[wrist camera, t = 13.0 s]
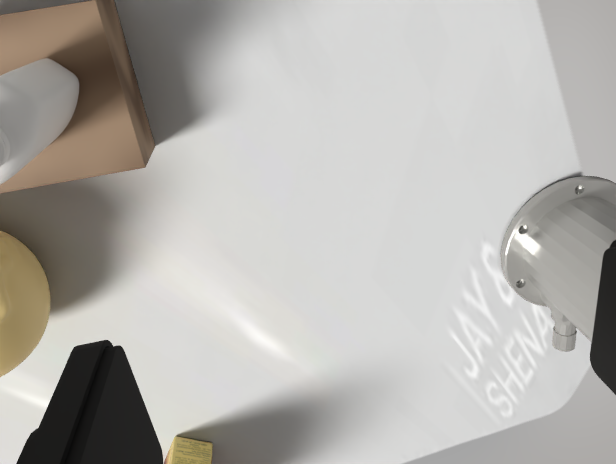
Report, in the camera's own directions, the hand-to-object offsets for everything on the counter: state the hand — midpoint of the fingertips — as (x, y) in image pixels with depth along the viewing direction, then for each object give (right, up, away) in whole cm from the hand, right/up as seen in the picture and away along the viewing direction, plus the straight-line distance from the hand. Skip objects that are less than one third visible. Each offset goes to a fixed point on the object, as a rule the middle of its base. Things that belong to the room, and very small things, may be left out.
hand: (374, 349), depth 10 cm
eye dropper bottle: (-17, +10, +21) cm, 29 cm away
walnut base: (-18, +12, +25) cm, 33 cm away
